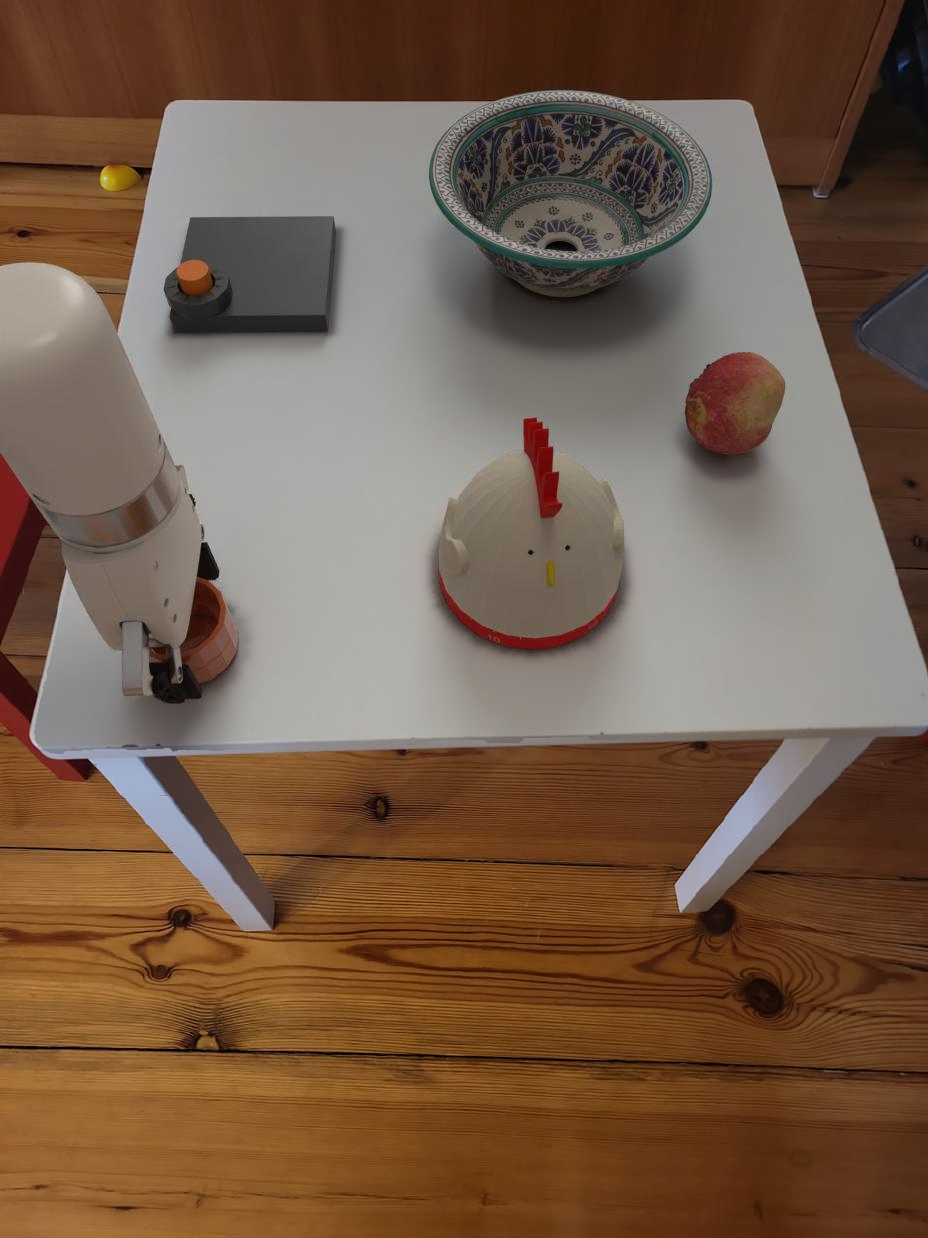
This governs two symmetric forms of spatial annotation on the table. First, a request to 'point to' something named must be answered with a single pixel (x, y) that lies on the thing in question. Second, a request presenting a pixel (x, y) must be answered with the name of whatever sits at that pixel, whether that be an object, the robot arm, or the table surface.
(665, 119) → the bowl
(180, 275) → the button
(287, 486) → the table surface
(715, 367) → the fruit
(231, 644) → the terracotta bowl
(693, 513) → the table surface
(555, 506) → the kitchen timer
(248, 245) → the scale
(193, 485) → the table surface
